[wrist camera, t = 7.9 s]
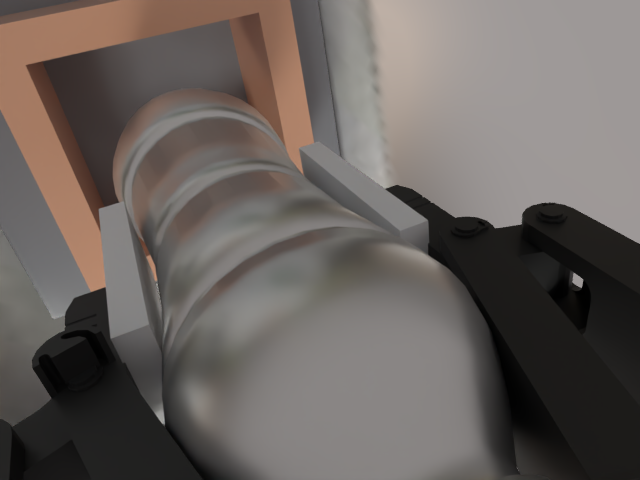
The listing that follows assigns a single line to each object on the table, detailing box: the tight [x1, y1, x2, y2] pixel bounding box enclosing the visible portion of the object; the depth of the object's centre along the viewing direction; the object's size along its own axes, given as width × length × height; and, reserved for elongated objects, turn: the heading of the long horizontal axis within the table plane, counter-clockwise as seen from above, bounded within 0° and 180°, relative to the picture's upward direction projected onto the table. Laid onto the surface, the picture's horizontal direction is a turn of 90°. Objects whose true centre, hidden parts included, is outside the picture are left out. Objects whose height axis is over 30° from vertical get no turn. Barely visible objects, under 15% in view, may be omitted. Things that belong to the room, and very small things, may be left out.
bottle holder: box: [0, 0, 340, 319], centre depth 26 cm, size 20×20×7 cm
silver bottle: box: [113, 88, 550, 480], centre depth 13 cm, size 6×7×20 cm
